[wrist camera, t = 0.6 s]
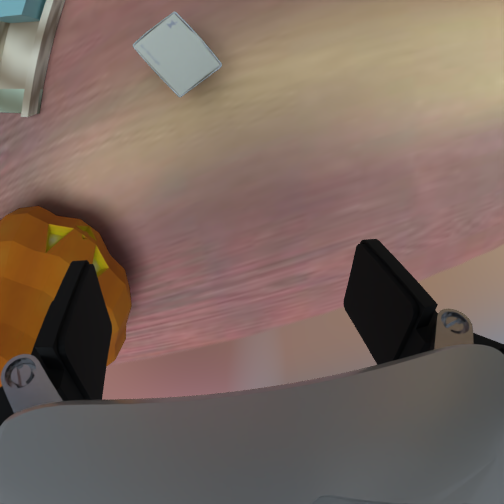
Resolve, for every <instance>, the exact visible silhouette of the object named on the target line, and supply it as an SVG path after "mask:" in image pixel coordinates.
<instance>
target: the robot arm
mask: <svg viewBox="0 0 504 504" xmlns="http://www.w3.org/2000/svg"><path fill="white" fill-rule="evenodd" d="M436 307H437V304H436V302H435V301H434V300H433V299H432V298H431V296H430V295H429V294H428V293H427V292H426V291H425V290H424V289H423V287H422V286H421V285H420V284H419V283H418V282H417V281H416V280H415V278H414V277H413V276H412V275H411V274H410V273H409V272H408V271H407V270H406V269H405V268H404V267H403V265H402V264H401V263H400V262H399V261H398V260H397V259H396V258H395V257H394V256H393V255H392V254H391V253H390V252H389V251H388V250H387V249H386V248H385V247H384V246H383V244H382V243H381V242H380V241H379V240H377V239H368V240H362V241H361V242H360V244H358V245H357V247H356V251H355V255H354V260H353V264H352V269H351V273H350V277H349V282H348V286H347V290H346V294H345V298H344V308H345V310H346V312H347V313H348V315H349V317H350V319H351V320H352V322H353V323H354V325H355V327H356V329H357V330H358V332H359V334H360V335H361V337H362V339H363V341H364V342H365V344H366V345H367V347H368V349H369V351H370V353H371V354H372V356H373V358H374V360H375V361H376V363H377V365H375V366H371V367H367V368H363V369H359V370H354V371H350V372H346V373H341V374H336V375H332V376H327V377H322V378H317V379H312V380H307V381H301V382H296V383H290V384H284V385H278V386H271V387H265V388H258V389H251V390H243V391H235V392H226V393H217V394H207V395H196V396H183V397H168V398H146V399H119V400H102V394H103V386H104V379H105V372H106V365H107V359H108V353H109V347H110V341H111V335H112V323H111V320H110V317H109V314H108V311H107V308H106V304H105V301H104V298H103V294H102V291H101V288H100V284H99V281H98V277H97V273H96V270H95V266H94V265H93V264H89V262H88V260H80V261H72V262H71V263H70V265H69V268H68V270H67V272H66V274H65V276H64V278H63V280H62V283H61V285H60V287H59V289H58V291H57V294H56V296H55V298H54V300H53V301H52V302H51V304H50V306H49V309H48V311H47V314H46V316H45V318H44V321H43V323H42V326H41V328H40V331H39V334H38V336H37V339H36V342H35V344H34V347H33V350H32V353H31V355H30V354H21V355H18V356H15V357H13V358H12V359H10V360H9V361H8V362H7V363H6V364H5V366H4V367H3V369H2V372H1V377H0V379H1V384H2V386H1V387H0V504H504V344H501V343H498V342H496V341H493V340H491V339H488V338H485V337H483V336H480V335H477V334H475V333H473V326H472V323H471V321H470V320H469V318H467V316H466V315H464V314H463V313H461V312H459V311H457V310H454V309H443V310H441V311H440V312H439V313H437V312H436V311H435V309H436Z"/></svg>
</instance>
